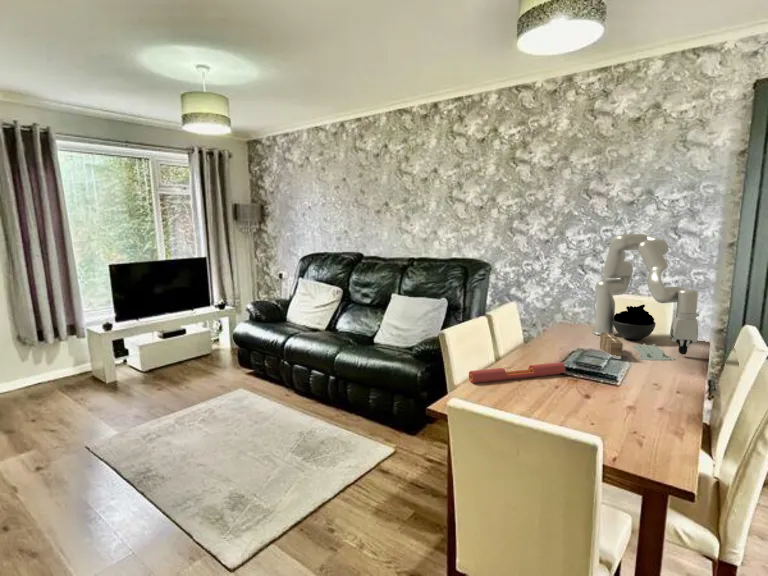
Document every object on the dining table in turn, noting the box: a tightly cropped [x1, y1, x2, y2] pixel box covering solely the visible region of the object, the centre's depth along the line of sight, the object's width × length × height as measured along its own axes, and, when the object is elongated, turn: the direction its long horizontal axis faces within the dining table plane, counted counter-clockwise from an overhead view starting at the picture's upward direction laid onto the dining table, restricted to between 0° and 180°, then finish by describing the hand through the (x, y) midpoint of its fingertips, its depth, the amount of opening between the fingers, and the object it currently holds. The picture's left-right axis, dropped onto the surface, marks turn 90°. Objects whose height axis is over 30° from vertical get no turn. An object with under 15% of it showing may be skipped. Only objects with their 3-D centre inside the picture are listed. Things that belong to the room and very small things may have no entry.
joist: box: [599, 333, 624, 357], centre depth 204 cm, size 18×5×8 cm, turn 167°
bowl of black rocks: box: [613, 303, 657, 341], centre depth 227 cm, size 20×20×19 cm
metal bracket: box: [632, 343, 675, 361], centre depth 200 cm, size 14×6×15 cm
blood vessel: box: [468, 361, 566, 384], centre depth 176 cm, size 42×5×5 cm, turn 102°
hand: (682, 353), depth 197 cm, fingers closed
